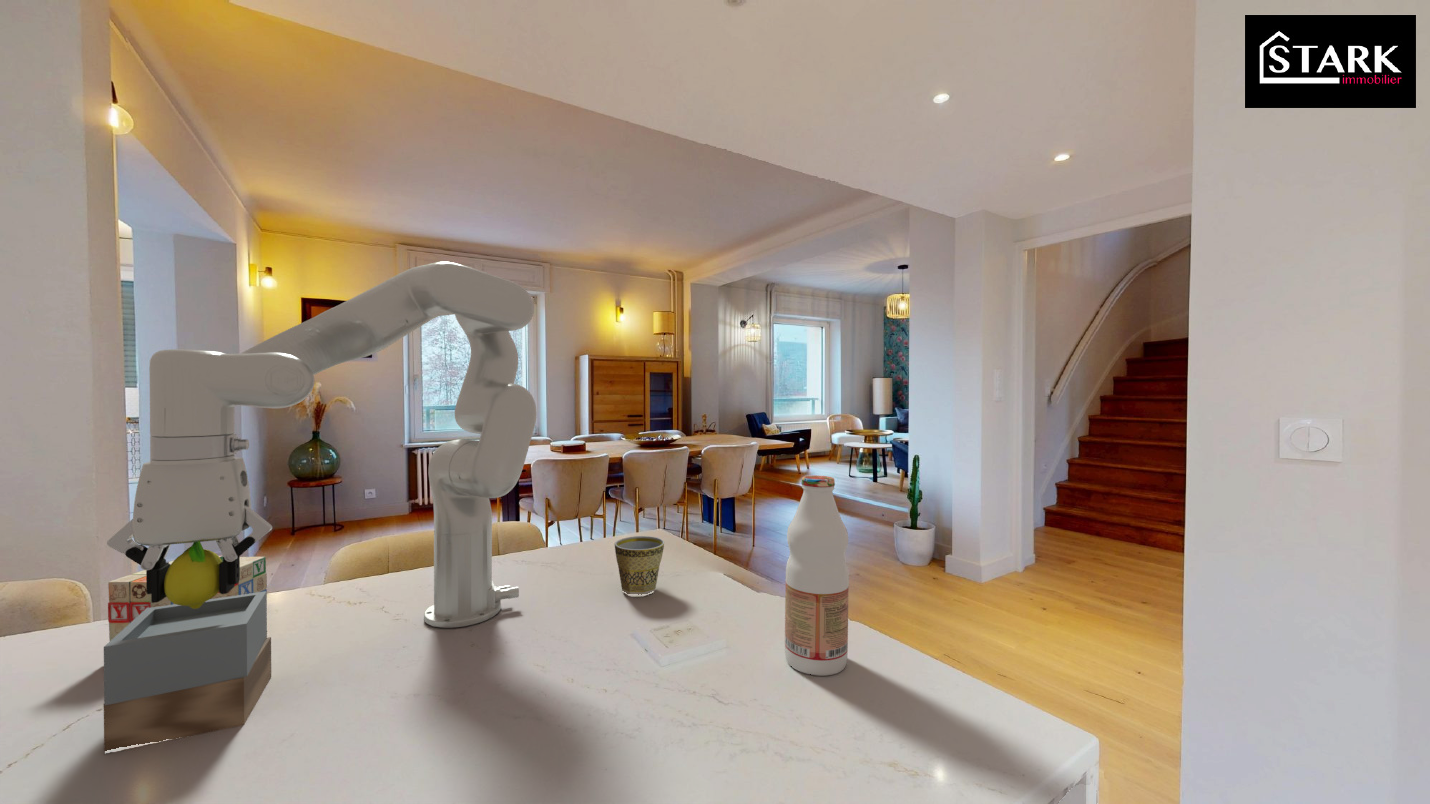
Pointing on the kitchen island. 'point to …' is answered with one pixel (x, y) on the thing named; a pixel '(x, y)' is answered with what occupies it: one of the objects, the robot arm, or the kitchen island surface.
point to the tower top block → (185, 647)
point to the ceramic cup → (639, 563)
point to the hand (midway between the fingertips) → (194, 593)
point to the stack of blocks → (133, 598)
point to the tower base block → (187, 709)
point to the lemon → (193, 577)
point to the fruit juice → (817, 583)
